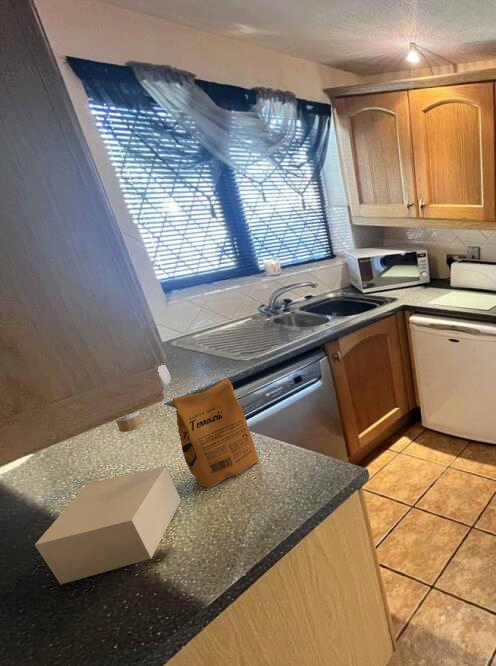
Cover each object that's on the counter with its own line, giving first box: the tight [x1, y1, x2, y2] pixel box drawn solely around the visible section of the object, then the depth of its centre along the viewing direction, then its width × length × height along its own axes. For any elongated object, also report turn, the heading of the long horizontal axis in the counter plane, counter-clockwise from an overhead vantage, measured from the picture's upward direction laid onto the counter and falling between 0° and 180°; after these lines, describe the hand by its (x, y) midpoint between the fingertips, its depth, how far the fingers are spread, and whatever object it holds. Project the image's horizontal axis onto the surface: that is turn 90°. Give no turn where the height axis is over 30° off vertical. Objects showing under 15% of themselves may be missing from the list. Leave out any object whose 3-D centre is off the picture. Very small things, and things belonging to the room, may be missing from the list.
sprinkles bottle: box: [115, 410, 145, 433], centre depth 92 cm, size 5×5×13 cm
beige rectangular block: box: [34, 465, 182, 585], centre depth 73 cm, size 15×13×10 cm
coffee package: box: [172, 378, 259, 489], centre depth 88 cm, size 10×12×22 cm
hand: (124, 409), depth 93 cm, fingers closed on sprinkles bottle, 4 cm apart
